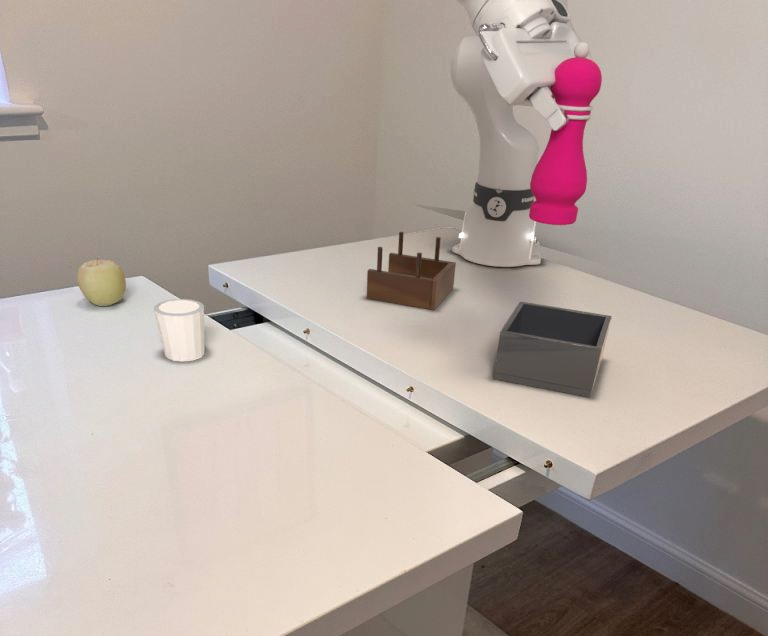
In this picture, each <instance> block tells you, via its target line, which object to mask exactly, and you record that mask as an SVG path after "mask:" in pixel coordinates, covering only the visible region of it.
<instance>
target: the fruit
mask: <svg viewBox="0 0 768 636" xmlns="http://www.w3.org/2000/svg"><path fill="white" fill-rule="evenodd" d="M100 257H101V255H100V254H98V255H97V258H96V259H92V260H88V261H86V262H84V263H83V264H81V265H80V266H79V268H78V270H77V273H76V282H77V286H78V288H79V290H80V291H81V294H82V295H83V297H85V298H86V300H88V302H90V303H91V304H93V305H95V306H99V307H108V306H112V305H114V304H116V303H118V302H119V301H121V299H122V298H123V297H124V296H125V292H126V287H127V281H126V277H125V274H124V272H123V270H122V268H121V266H120V265H118V263H116V262H115V261H113V260H111V259H100Z"/></svg>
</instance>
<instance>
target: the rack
mask: <svg viewBox="0 0 768 636" xmlns="http://www.w3.org/2000/svg"><path fill="white" fill-rule="evenodd" d="M404 233H405V232H404V231H399V232H398V246H397V249H398V250H397V253H395V252H390V253H388V271H386V270H382V268H383V267H382V266H383V247H382V246H377V254H376V255H377V259H376V269H373V268H369V269H367V272H366V273H367V274H366V276H367V277H366V300H372V301H379V302H383V303H390V304H394V305H395V304H397V305H401V306H402V305H403V306H408V307H413V308H414V307H415V308H420V309H426V310H431V311H435V310H436V309H437V308H438V307H439V306H440V305H441V303H442V302H444V301H445V299H446V298H447V297H448V296H449V295H450V294H451V293H452V291H453V290H454V284H455V276H456V275H455V274H456V264H457V263H456V262H455V261H451V260H450V261H449V260H443V259H440V250H441V239H442V237H441V236H436V237H435V248H434V258H429V257H423V253H422V252H417V253H416V255H410V254H403V252H404V249H403V248H404V236H405V235H404Z"/></svg>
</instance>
